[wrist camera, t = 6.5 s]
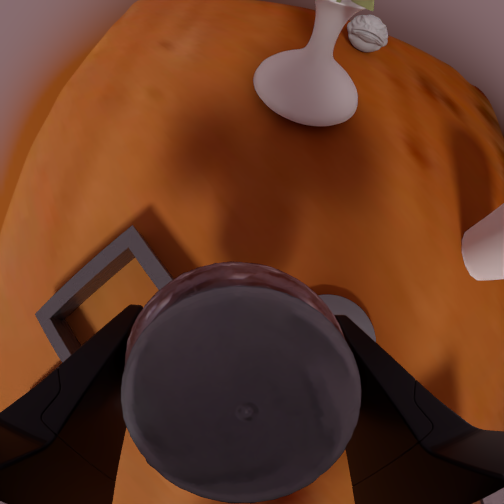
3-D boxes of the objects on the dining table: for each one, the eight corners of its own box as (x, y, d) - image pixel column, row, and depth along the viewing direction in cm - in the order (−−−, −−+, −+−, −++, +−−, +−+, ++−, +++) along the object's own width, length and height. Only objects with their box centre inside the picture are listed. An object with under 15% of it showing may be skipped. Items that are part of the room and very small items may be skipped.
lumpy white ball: (337, 51, 31) (352, 14, 24) (343, 32, 32) (356, 0, 26) (377, 68, 31) (396, 34, 24) (378, 47, 32) (394, 17, 26)
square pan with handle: (75, 457, 17) (63, 467, 14) (9, 359, 18) (-7, 360, 16) (229, 346, 21) (229, 349, 19) (141, 234, 22) (132, 225, 20)
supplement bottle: (243, 271, 16) (284, 156, 5) (308, 355, 15) (456, 400, 4) (156, 333, 14) (18, 346, 4) (221, 418, 14) (220, 569, 3)
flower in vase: (260, 57, 29) (291, -122, 4) (350, 79, 29) (425, -80, 5) (239, 134, 25) (274, -140, 1) (354, 160, 26) (498, -49, 2)
